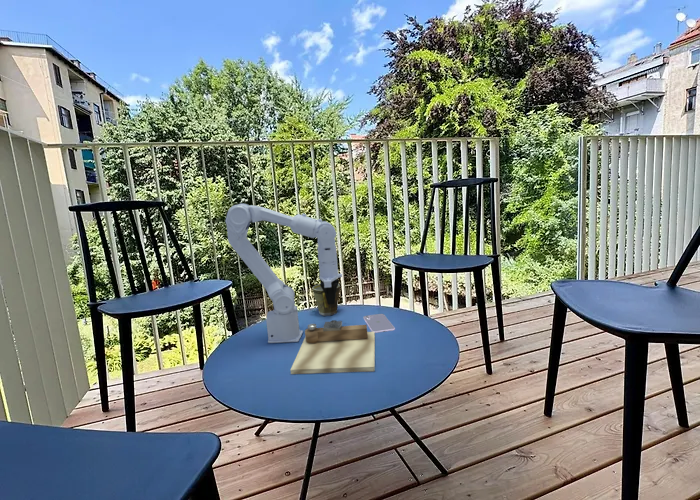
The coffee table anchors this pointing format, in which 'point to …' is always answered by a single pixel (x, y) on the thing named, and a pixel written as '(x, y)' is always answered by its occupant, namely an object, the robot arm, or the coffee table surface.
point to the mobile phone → (378, 323)
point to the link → (336, 334)
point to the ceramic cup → (325, 301)
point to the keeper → (328, 326)
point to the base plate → (336, 356)
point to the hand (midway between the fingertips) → (331, 303)
